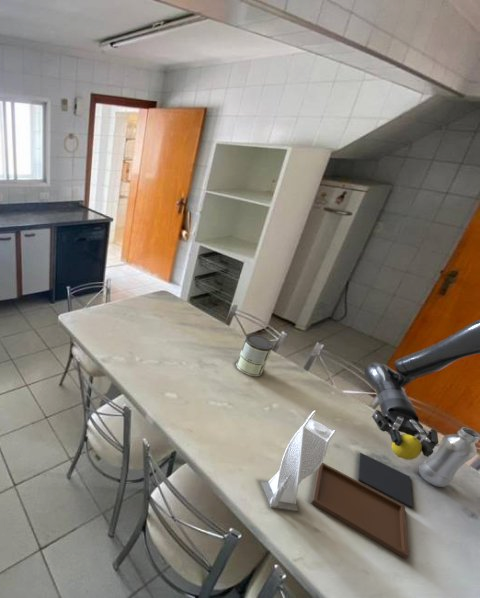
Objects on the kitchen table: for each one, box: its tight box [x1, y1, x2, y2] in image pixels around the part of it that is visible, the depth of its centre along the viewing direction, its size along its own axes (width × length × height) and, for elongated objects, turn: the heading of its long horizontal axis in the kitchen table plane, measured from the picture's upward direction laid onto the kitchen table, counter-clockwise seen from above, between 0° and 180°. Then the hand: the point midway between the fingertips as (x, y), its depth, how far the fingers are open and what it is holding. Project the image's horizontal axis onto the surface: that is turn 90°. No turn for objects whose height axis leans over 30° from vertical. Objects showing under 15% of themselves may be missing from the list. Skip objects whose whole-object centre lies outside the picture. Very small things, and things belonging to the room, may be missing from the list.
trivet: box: [357, 452, 414, 509], centre depth 97 cm, size 12×12×1 cm
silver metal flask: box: [417, 426, 480, 488], centre depth 93 cm, size 6×7×20 cm
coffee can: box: [235, 333, 274, 377], centre depth 136 cm, size 10×10×14 cm
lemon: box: [390, 433, 422, 461], centre depth 89 cm, size 6×6×8 cm
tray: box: [311, 462, 410, 560], centre depth 88 cm, size 20×16×2 cm
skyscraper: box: [260, 410, 337, 512], centre depth 84 cm, size 8×8×28 cm
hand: (413, 448), depth 86 cm, fingers closed on lemon, 5 cm apart
